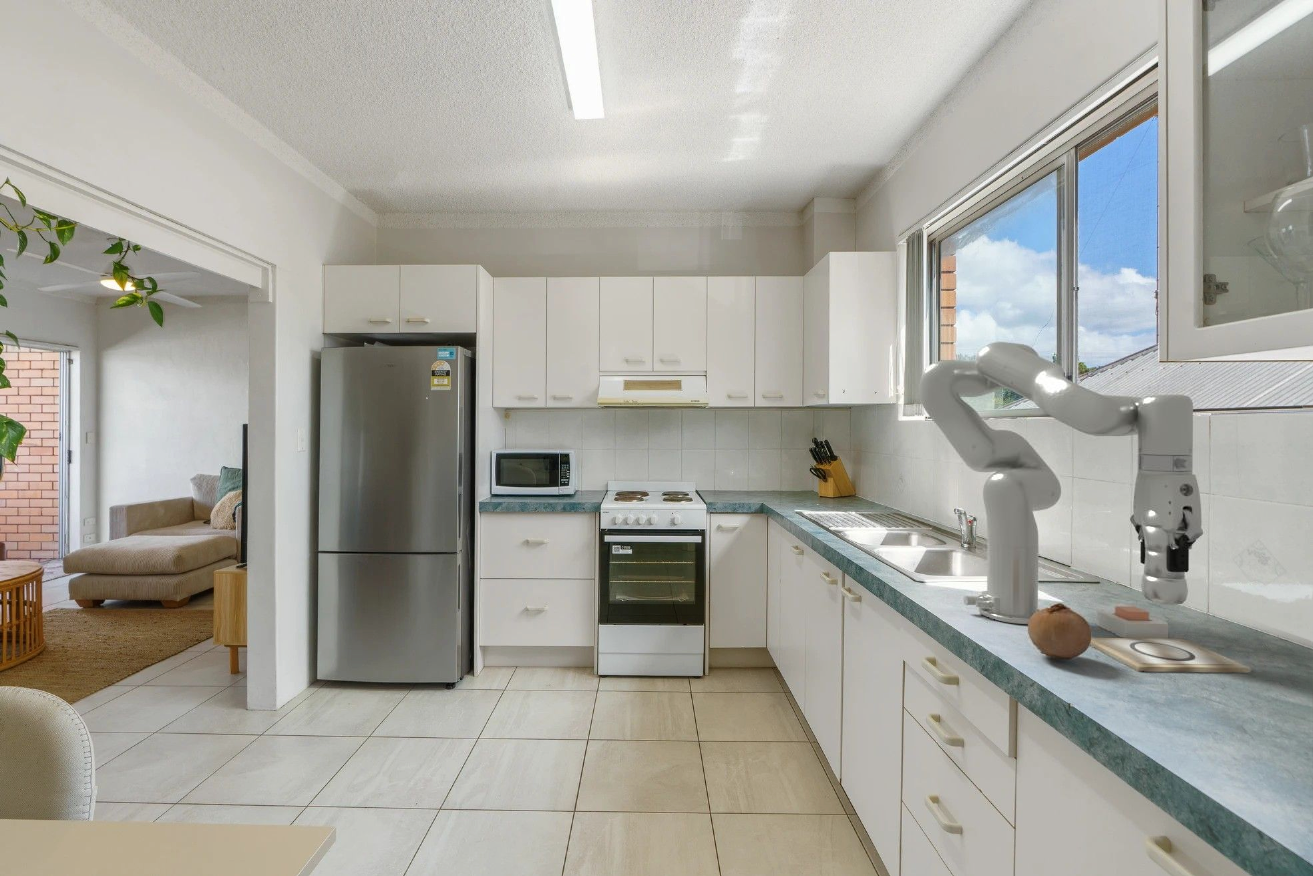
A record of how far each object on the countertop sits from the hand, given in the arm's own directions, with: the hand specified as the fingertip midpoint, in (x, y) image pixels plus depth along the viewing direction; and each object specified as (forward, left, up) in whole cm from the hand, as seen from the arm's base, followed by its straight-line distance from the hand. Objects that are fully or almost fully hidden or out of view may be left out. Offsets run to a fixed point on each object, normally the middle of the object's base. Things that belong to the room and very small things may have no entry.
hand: (1163, 566), depth 110 cm
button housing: (+4, +13, -16) cm, 21 cm away
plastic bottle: (0, 0, -7) cm, 7 cm away
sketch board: (0, 0, -16) cm, 16 cm away
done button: (+4, +13, -14) cm, 20 cm away
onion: (-19, -2, -16) cm, 25 cm away
